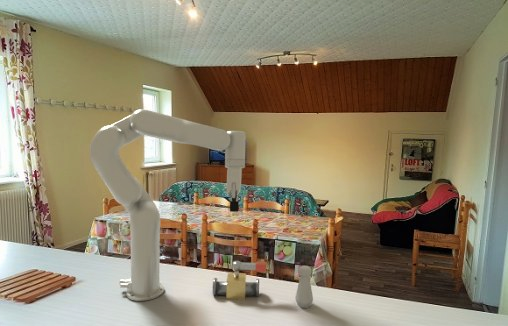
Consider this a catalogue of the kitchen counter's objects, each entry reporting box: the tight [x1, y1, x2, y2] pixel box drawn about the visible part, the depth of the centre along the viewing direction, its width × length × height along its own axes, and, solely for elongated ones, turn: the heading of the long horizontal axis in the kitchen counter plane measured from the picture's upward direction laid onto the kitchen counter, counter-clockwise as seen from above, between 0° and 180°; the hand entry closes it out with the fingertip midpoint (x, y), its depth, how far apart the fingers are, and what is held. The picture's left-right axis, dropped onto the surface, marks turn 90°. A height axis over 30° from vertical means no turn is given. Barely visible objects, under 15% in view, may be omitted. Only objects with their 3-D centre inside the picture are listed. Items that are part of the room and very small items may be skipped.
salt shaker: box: [295, 265, 314, 309], centre depth 106 cm, size 6×6×13 cm
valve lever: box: [232, 260, 267, 273], centre depth 111 cm, size 12×3×3 cm, turn 88°
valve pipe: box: [212, 270, 260, 300], centre depth 112 cm, size 16×6×9 cm, turn 90°
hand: (234, 211), depth 122 cm, fingers closed
